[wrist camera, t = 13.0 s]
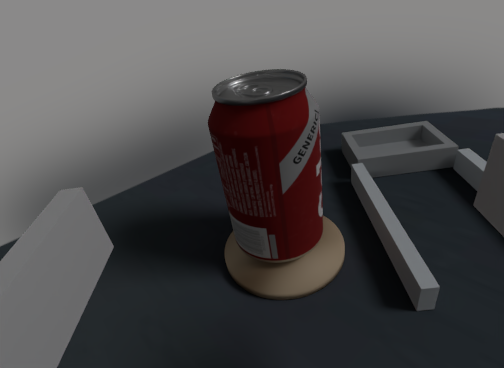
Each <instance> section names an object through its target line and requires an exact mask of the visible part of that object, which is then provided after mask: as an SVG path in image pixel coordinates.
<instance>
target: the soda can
mask: <svg viewBox="0 0 504 368" xmlns="http://www.w3.org/2000/svg"><path fill="white" fill-rule="evenodd" d="M306 84H307V78H306V76H305V75H304V74H303V73H301V72H298V71H294V70H286V69H274V70H262V71H255V72H250V73H246V74H241V75H238V76H235V77H232V78H229V79H226V80H224V81H222V82H220V83H219V84H217V85H216V86H215V87H214V88H213V90H212V96H213V99H214V100H215V103H214V106H213V108H212V111H211V114H210V116H209V120H208V127H209V131H210V135H211V139H212V143H213V147H214V152H215V156H216V160H217V164H218V168H219V173H220V177H221V181H222V185H223V189H224V193H225V198H226V202H227V206H228V210H229V214H230V218H231V223H232V227H233V231H234V235H235V239H236V242H237V245H238V246H239V248H240V249H241V250H242V251H243V252H244V253H245V254H246V255H248V256H250V257H251V258H254V259H256V260H259V261H263V262H270V263H281V262H288V261H292V260H295V259H298V258H300V257H303V256H305V255H306V254H308V253H309V252H311V251H312V250H313V249H314V248H315V247H316V246H317V245H318V243H319V242H320V240H321V238H322V235H323V208H322V178H321V148H320V122H319V121H320V120H319V106H318V103H317V102H316V101H315V99H314V98H313V96H312V95H311V94H310V93H309V92H308V90H307V89H306V87H305V86H306Z"/></svg>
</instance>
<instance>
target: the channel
mask: <svg viewBox="0 0 504 368" xmlns="http://www.w3.org/2000/svg"><path fill="white" fill-rule="evenodd" d="M486 163H487V162H486V161H485V160H483V159H482V158H481V157H479V156H478V155H477V154H476V153H474V152H473V151H472V150H470V149H469V148H468V149H461V150H457V154H456V159H455V163H454V167H453V169H454V170H455V171H456V172H457V173H458V174H459V175H460V176H461V177H463V178H464V179H465V180H466V181H467V182H468V183H469V184H470V185H471V186H472V187H473V188H474V189H475V190H476V191H478V188H479V185H480V182H481V179H482V176H483V173H484V170H485V166H486ZM351 183H352V185H353V187H354V189H355V191H356V193H357V195H358V197H359V199H360V201H361V203H362V205H363V207H364V209H365V211H366V213H367V215H368V217H369V219H370V221H371V223H372V225H373V227H374V228H375V230H376V232H377V234H378V236H379V238H380V240H381V242H382V244H383V246H384V248H385V250H386V252H387V254H388V256H389V258H390V260H391V262H392V264H393V266H394V268H395V270H396V272H397V274H398V276H399V278H400V280H401V281H402V283H403V285H404V287H405V289H406V291H407V293H408V295H409V297H410V299H411V301H412V303H413V305H414V307H415V309H416V311H421V310H431V309H434V307H435V303H436V300H437V296H438V292H439V289H440V287H439V285H438V283H437V282H436V280H435V278H434V277H433V275H432V274H431V272H430V270H429V269H428V267H427V266H426V264H425V262H424V261H423V259H422V258H421V256H420V254H419V253H418V251H417V250H416V248H415V246H414V245H413V243H412V242H411V240H410V238H409V237H408V235H407V234H406V232H405V230H404V229H403V227H402V226H401V224H400V222H399V221H398V219H397V218H396V216H395V214H394V213H393V211H392V210H391V208H390V206H389V205H388V203H387V201H386V200H385V198H384V197H383V195H382V193H381V192H380V190H379V189H378V187H377V185H376V184H375V182H374V181H373V179H372V177H371V176H370V174H369V173H368V171H367V169H366V168H365V166H364V165H363V163H357V164H351Z"/></svg>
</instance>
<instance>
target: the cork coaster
mask: <svg viewBox="0 0 504 368" xmlns="http://www.w3.org/2000/svg"><path fill="white" fill-rule="evenodd" d="M344 256H345V244H344V239H343V237H342V234H341V232H340V231H339V229H338V228H337V226H336V225H335V224H334V223H333V222H332V221H330V220H329V219H328V218H326V217H325V216H323V235H322V238H321V240H320V242H319V243H318V245H317V246H316V247H315V248H314V249H313V250H312V251H311V252H309V253H308V254H306V255H305V256H303V257H300V258H298V259H295V260H292V261H288V262H281V263H270V262H263V261H259V260H256V259H254V258H251V257H250V256H248V255H246V254H245V253H244V252H243V251H242V250H241V249H240V248H239V246H238V245H237V242H236V239H235V235H234V231H233V232H232V233H231V234H230V236H229V238H228V240H227V242H226V246H225V261H226V265H227V268H228V271H229V273H230V275H231V277H232V278H233V280H234V281H235V282H236V283H237V284H238V285H239V286H240V287H242V288H243V289H244V290H246V291H248V292H250V293H252V294H254V295H256V296H259V297H263V298H267V299H274V300H290V299H297V298H301V297H305V296H308V295H311V294H313V293H315V292H317V291H319V290H321V289H323V288H324V287H326V286H327V285H328V284H329V283H330V282H331V281H333V280H334V278H335V277H336V276H337V275H338V273H339V271H340V270H341V268H342V265H343V262H344Z"/></svg>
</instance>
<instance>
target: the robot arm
mask: <svg viewBox="0 0 504 368" xmlns="http://www.w3.org/2000/svg"><path fill="white" fill-rule="evenodd" d="M473 206H474V207H475V208H476V209H477V210H478V211H479V212H480V213H481V214H482V215H483V216H484V217H485V218H486V219H487V220H488V221H489V222H490V223H491V224H492V225H493V226H494V227H495V228H496V229H497V230H498V231H499V232H500V234H501V235H502V236H503V237H504V133H502V134H496V135H495V138H494V141H493V145H492V148H491V151H490V154H489V157H488V160H487V163H486V166H485V170H484V173H483V176H482V179H481V182H480V185H479V188H478V192H477V195H476V198H475V201H474V204H473ZM113 248H114V246H113V244H112V242H111V240H110V238H109V237H108V235H107V233H106V231H105V229H104V227H103V225H102V223H101V221H100V220H99V218H98V216H97V214H96V212H95V210H94V208H93V206H92V205H91V203H90V201H89V199H88V197H87V195H86V193H85V191H84V189H83V188H82V187H80V188H73V189H64V190H60V191H59V192H58V193H57V194H56V196H55V197H54V198H53V199H52V200H51V201H50V203H49V204H48V205H47V206H46V208H45V209H44V210H43V211H42V212H41V213H40V215H39V216H38V217H37V218H36V220H35V221H34V222H33V223H32V224H31V225H30V227H29V228H28V229H27V230H26V231H25V233H24V234H23V235H22V236H21V237H20V238H19V240H18V241H17V242H16V243H15V244H14V246H13V247H12V248H11V249H10V250H9V252H8V253H7V254H6V255H5V256H4V258H3V259H2V260H1V261H0V368H57V366H58V364H59V362H60V360H61V358H62V355H63V353H64V351H65V349H66V347H67V345H68V343H69V341H70V339H71V336H72V334H73V332H74V330H75V328H76V326H77V324H78V322H79V319H80V317H81V315H82V313H83V311H84V309H85V307H86V305H87V303H88V300H89V298H90V296H91V294H92V292H93V290H94V288H95V286H96V284H97V281H98V279H99V277H100V275H101V273H102V271H103V269H104V267H105V264H106V262H107V260H108V258H109V256H110V254H111V252H112V250H113Z"/></svg>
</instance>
